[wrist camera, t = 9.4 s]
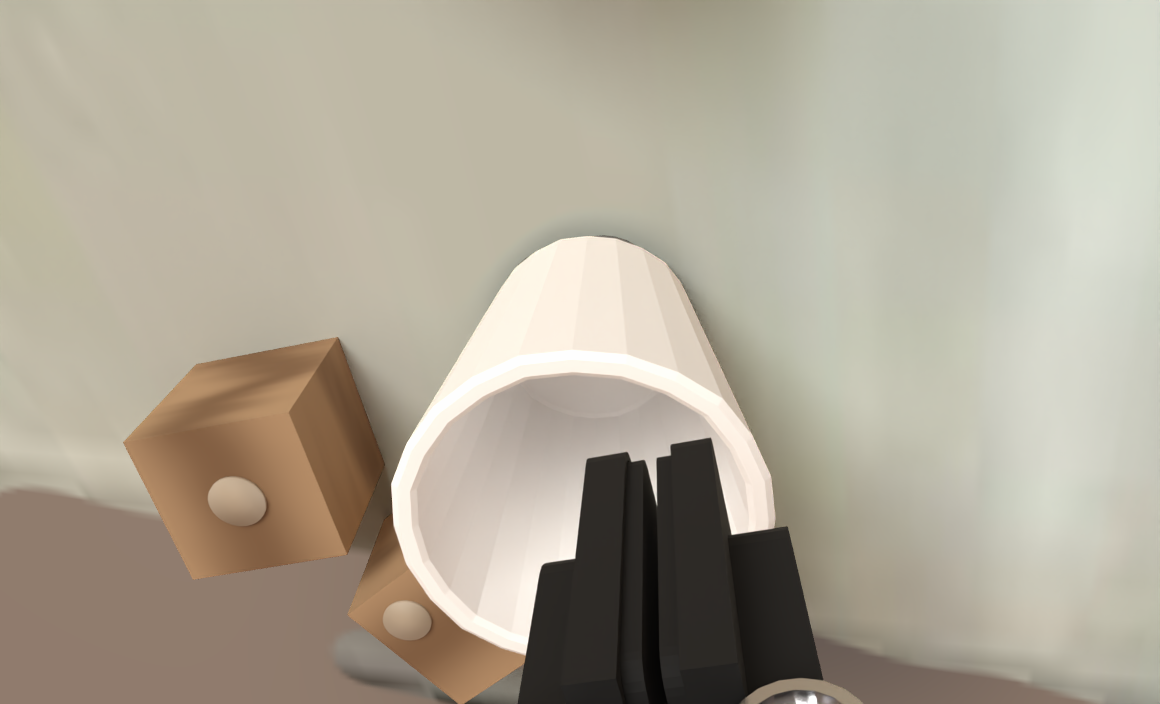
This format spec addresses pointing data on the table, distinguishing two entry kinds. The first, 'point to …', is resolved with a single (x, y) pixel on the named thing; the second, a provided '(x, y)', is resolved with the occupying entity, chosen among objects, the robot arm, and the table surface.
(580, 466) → the cup
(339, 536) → the walnut block one dot
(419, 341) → the table surface
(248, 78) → the table surface
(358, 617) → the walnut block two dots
